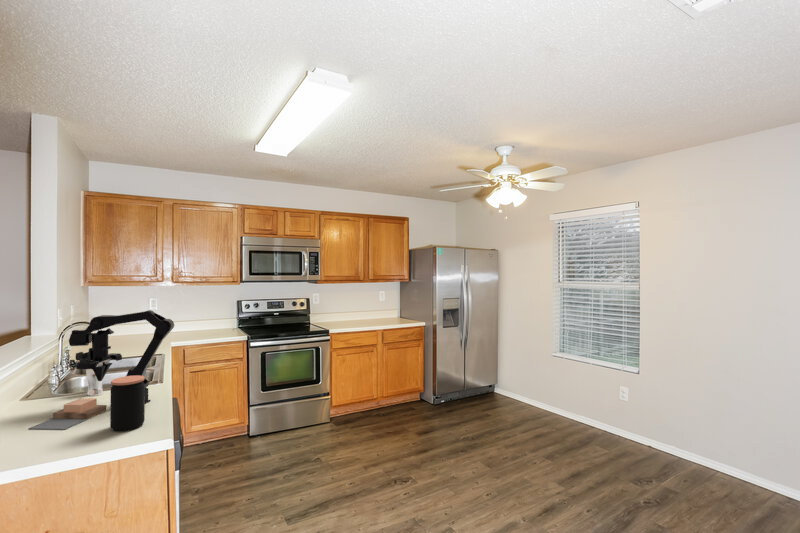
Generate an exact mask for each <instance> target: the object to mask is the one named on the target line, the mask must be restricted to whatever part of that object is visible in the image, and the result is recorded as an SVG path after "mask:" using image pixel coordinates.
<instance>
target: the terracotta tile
mask: <svg viewBox="0 0 800 533" xmlns="http://www.w3.org/2000/svg"><path fill="white" fill-rule="evenodd" d="M97 405H98V404H97V398H91V397H90V398H86V397H85V398H82V397H81V398H78V399H75V400H72V401H70V402H68V403H65V404H63V409H64V412H78V413H81V412H83V411H85V410H88V409H90V408H92V407H95V406H97Z"/></svg>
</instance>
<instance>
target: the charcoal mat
mask: <svg viewBox="0 0 800 533" xmlns="http://www.w3.org/2000/svg"><path fill="white" fill-rule="evenodd" d="M85 421H88V420H87V419H62V418H53V417H52V418H50V419H48V420H45V421H43V422H41V423H38V424H35V425H33V426H31V427H29V428H28V430H37V431H38V430H47V431H48V430H49V431H53V430H54V431H66V430H68V429H71V428H72V427H74V426H77V425H79V424H81V423H83V422H85Z"/></svg>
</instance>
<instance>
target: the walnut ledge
mask: <svg viewBox="0 0 800 533" xmlns="http://www.w3.org/2000/svg"><path fill="white" fill-rule="evenodd" d="M105 411H106V412H107V404H97V406H95V407H92V408H90V409H88V410H85V411H83V412H81V413H78V412H64V408H61V409H59V410H56V411H53V412H52V418H62V419H87V420H86V421H88V420H89V419H92V418H94V417H97V416H98V415H101V414H103V413H105Z"/></svg>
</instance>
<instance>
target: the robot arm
mask: <svg viewBox="0 0 800 533" xmlns="http://www.w3.org/2000/svg"><path fill="white" fill-rule="evenodd" d="M140 321H146V322H148V323H149V324H150V325H151V326H153V327H155V329H154V333H153V336H152V338H151V341H150V342H149V344H148V346H147V347H146V349H145V351H144V353H143V354H142V356H141V358H139V359H140V360H138V361H139V362H138V363H137V365H136V366H132V367H130V368H129V369H128V371H127V373H126V375H125V376H135V375H138V376H144V377H145V376H146V373H147V369H148V367H149V365H150V363H151V361H152V360H153V358H154V356H155V354H156V352H157V351H158V350H159V348H160V345H161V344H162V342H163V340H164V339H165V338H166V337H167V336H168V335H169V333H171V332H172V330H173V329H174V328H175V322H174V320H172V319H171V318H166V317H164V316H163V315H160V314H158V313H157V312H155V311H154V310H152V309H151V310H150V309H149V310H145V311H139V312H132V313H131V312H130V313H126V314H125V313H124V314H120V315H119V314H118V315H113V314H107V315H106V314H103V315H97V316H95V317H92V318H91V319H90V321H89V324H88V326H87V327H86V328H85V329H73V330H71V334H70V335H69V338H68V343H69V346H70V347H82V346H83V347H85V346H89V345H90V344H91V347H89V348H88V352H83V351H79V352H76V353H75V361H77V363H76V365H75V369H76V370H86V369H92V370H93V371H94V373H95V375H96V377H97V379H98V381H102V380H103V381H104V378H105V376H106V374H107V372H108V371H109V369H110V367H111V365H113V362H110V361H114V360H115V361H116V362H118V361H121V360H122V359H123V355H122V354H121V353H120V352H119V353H116V352H115V353H109V350H111V348H112V345H109V335H113V334H115V331H114V330H112V329H111V328H110V327H112V326H116V325H120V324H126V323H133V322H140ZM103 329H104V330H103ZM96 331H97V332H96ZM143 382H144V383H145V404H147V403H149V402H151V399H149V388H148V387H149V384H150V381H149V380H148V379H147V378H145V379H144V381H143Z"/></svg>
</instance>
